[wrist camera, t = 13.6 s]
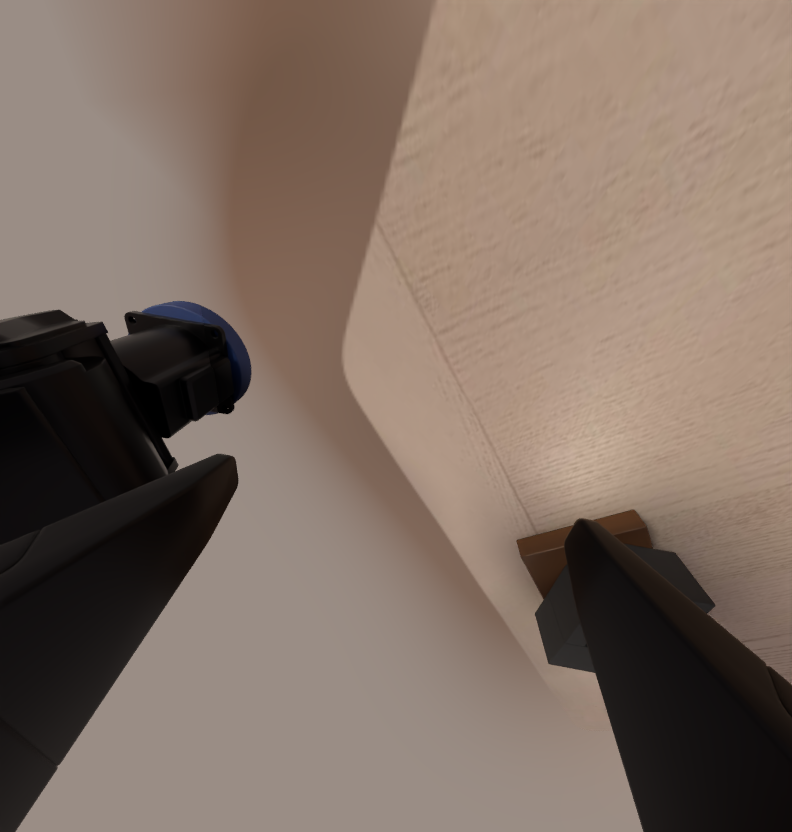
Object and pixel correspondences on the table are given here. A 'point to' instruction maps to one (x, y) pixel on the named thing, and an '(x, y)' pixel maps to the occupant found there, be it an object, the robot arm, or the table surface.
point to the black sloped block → (562, 617)
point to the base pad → (549, 554)
